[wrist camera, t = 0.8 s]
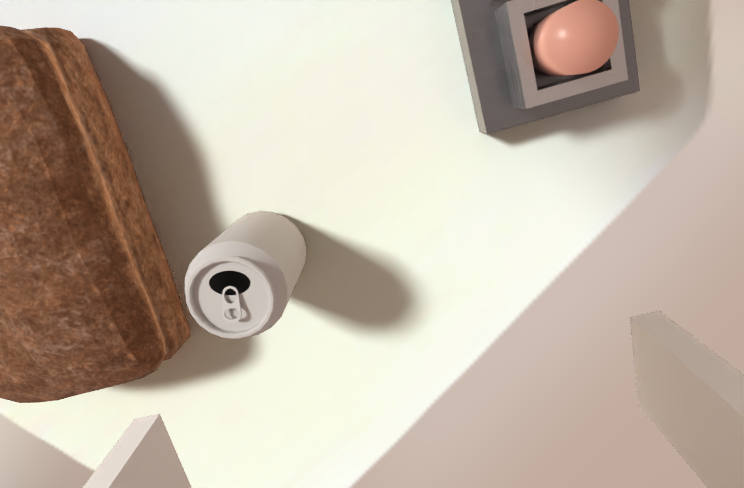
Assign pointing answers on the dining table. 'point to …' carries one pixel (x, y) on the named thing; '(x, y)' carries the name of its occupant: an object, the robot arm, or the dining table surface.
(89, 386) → the bread
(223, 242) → the can
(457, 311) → the dining table surface
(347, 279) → the dining table surface
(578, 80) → the console
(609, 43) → the button coral
